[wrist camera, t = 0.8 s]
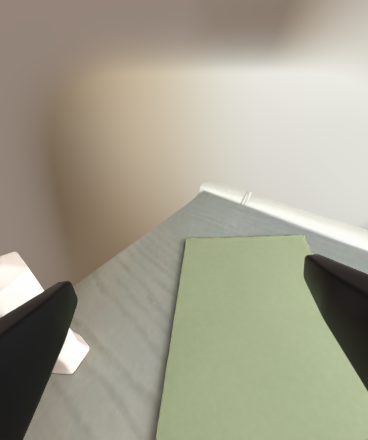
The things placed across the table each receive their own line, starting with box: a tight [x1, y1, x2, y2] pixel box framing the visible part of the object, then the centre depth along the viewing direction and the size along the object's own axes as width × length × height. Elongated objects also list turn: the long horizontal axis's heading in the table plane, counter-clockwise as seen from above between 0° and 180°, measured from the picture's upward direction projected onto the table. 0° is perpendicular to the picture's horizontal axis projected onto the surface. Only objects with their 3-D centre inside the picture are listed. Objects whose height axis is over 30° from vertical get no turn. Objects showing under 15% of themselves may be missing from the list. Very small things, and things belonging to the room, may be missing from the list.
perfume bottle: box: [0, 252, 90, 374], centre depth 19 cm, size 5×4×15 cm
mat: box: [155, 235, 368, 440], centre depth 24 cm, size 22×16×1 cm
